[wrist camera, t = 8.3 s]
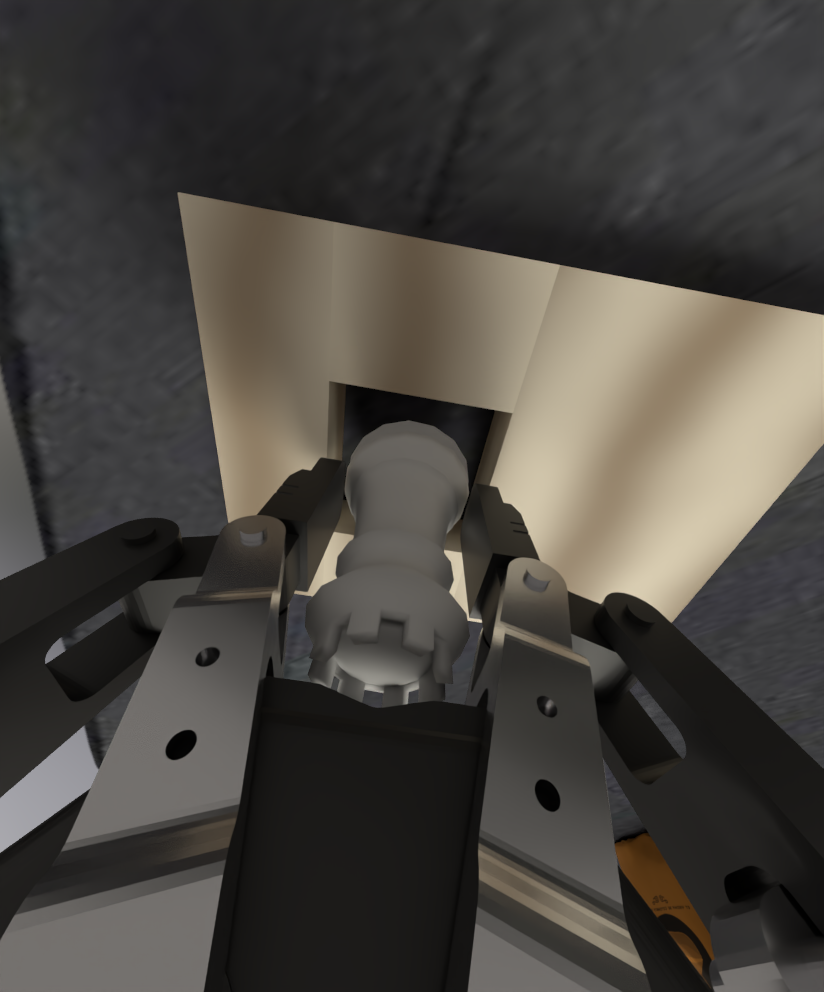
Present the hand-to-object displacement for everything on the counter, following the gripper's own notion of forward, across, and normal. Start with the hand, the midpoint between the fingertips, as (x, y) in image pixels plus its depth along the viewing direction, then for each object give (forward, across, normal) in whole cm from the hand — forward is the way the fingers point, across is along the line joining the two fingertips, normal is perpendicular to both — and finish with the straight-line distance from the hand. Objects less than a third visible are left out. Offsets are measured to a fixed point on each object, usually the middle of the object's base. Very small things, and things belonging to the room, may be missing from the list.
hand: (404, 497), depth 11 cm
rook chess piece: (+2, 0, 0) cm, 2 cm away
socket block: (+4, -3, 0) cm, 5 cm away
